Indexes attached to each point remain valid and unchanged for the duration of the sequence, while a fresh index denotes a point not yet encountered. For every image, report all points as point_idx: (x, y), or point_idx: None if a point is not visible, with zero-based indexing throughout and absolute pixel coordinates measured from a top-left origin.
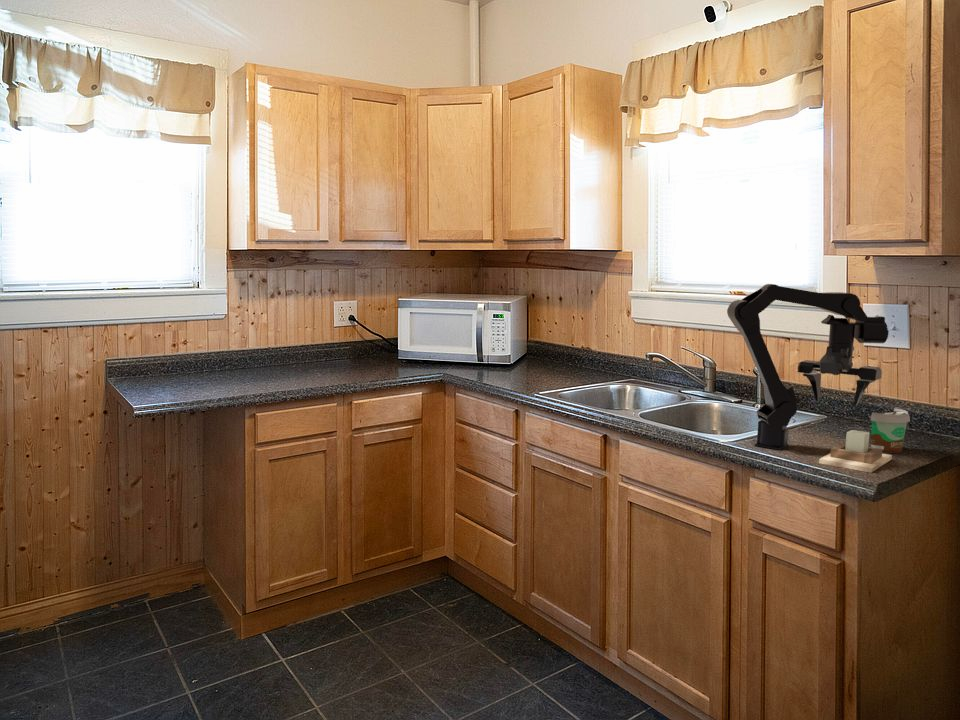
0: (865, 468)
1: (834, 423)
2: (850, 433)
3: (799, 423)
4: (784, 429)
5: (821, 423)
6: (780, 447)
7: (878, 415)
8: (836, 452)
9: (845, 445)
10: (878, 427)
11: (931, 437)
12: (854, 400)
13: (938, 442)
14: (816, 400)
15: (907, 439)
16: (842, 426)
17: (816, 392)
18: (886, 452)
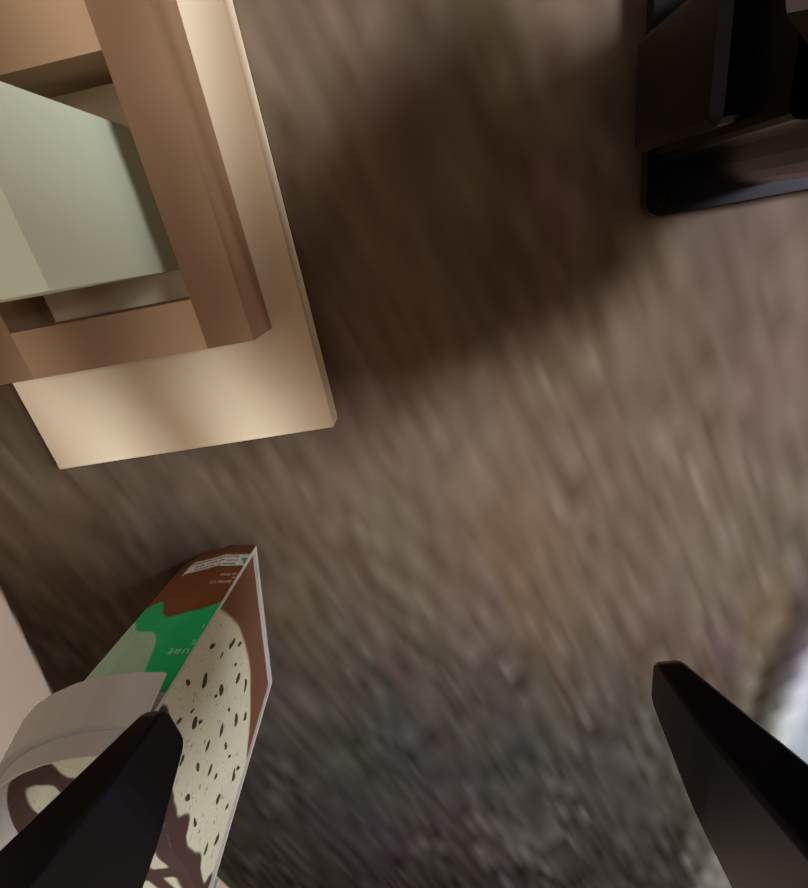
0: None
1: (629, 847)
2: None
3: None
4: (752, 42)
5: (674, 821)
6: (654, 2)
7: (85, 736)
8: None
9: (174, 249)
10: (145, 650)
11: (278, 873)
12: (102, 785)
13: None
14: (677, 665)
15: (305, 810)
16: (583, 829)
17: (775, 797)
18: (188, 564)
